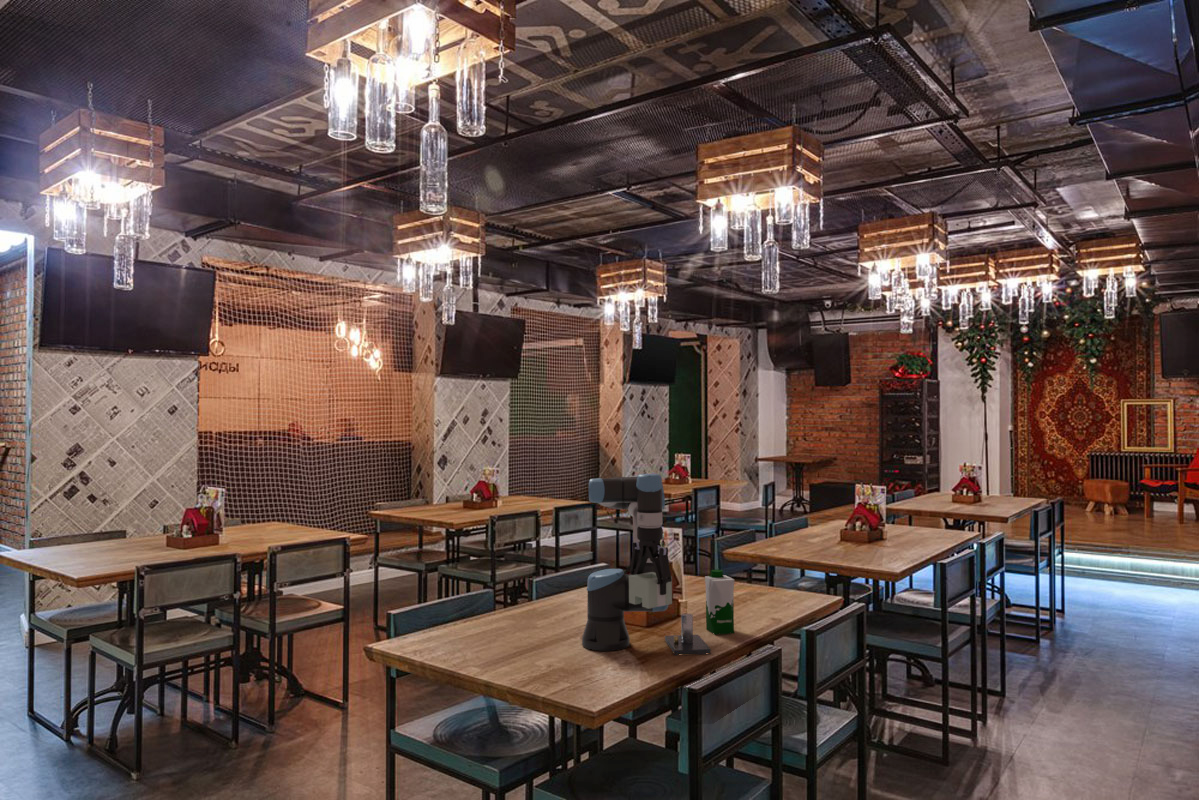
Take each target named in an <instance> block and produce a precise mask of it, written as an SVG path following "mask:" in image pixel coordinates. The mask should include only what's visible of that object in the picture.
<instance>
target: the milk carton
mask: <svg viewBox="0 0 1199 800" xmlns="http://www.w3.org/2000/svg"><path fill="white" fill-rule="evenodd" d="M735 581H736V580H735V579H734V578H732V577H730V576H727V575H726V574H724V571H723V569H711V570H710V575H707V576H706V575H705V576H704V584H705V623H706V628H705V629H706V630H707V631H708V630H709V631H708V632H710V633H711V632H712V634H713V633H714V634H715V635H714V634H713V635H714V636H717V635H716V634H719V635H728V634H735V626H734V625H735V624H734V621H735V618H734V615H735V614H734V611H735V610H734V609H735V607H734V605H735V604H734V588H735Z"/></svg>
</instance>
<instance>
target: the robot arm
mask: <svg viewBox="0 0 1199 800" xmlns="http://www.w3.org/2000/svg"><path fill="white" fill-rule="evenodd" d="M662 479H663V477H662V475H661V474H658V473H639V474H638V475H637V476H617V477H610V478H605V477H603V478H601V477H596V478H590V479H589V481H588V500H589V502H590V503H592V504H593V503H594V504H598V505H600V506H602V507H605V508H607V509H614V510H627V511H628V513H629V516H630V517H632V532H633V533H632V534H633V536H632V537H633V542H632V544H631V546H632V552H631V560H630V567H629V573H625V572H624V569H622V568H606V569H602V570H597V571H594V572H592V573H590V575H588V577H587V583H586V584H587V585H586V591H587V606H586V607H587V611H586V612H587V613H586V614H587V621H586V623H585V624H586V625H585V627H584V630H583V634H582V636H581V637H582V638H581V645H583V646H584V647H583V646H582V647H583V648H585V647H586V648H585V649H587V648H588V649H587V650H590V649H592V650H591V651H596V650H599V652H615V651H621V650H624V649H626V648H628V647H630V643H631V641H630V639H631V638H630V635H629V632H628V631H629V630H628V629H627V626H626V622H625V612H631V613H632V612H635V613H636V612H645V613H647V612H649V613H650V612H652V613H655V612H656V613H657V612H665V611H667V609H668V608H669V605H665V595H666V583H667V582H671V581H673V578H672V579H671V577H672V574H671V567H670V561H669V560H670V559H669V548H668V547H667V546H665V547H663V546H662V545H661V540H662V539H663V527H662V525H663V509H664V508H665V503H666V501H665V497H666V496H665V490H664V485H663V480H662ZM648 572H654V573H656V576H657V579H658V582H657V606H658V607H654V608H649V609H648V608H645V607H642V602H641V603H640V604H636V605H635V604H632V603H629V576H630V575H636V574H642V573H648ZM620 649H621V650H620ZM614 650H615V651H614Z"/></svg>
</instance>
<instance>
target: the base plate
mask: <svg viewBox="0 0 1199 800" xmlns="http://www.w3.org/2000/svg"><path fill="white" fill-rule="evenodd" d="M693 618H694V616H693V614H692V613H682V614H680V625H681V627H680V629H681V631H680V633H681V634H680V635H679V634H678V635H676V634H675V635H665V636H664V641H665V642H666V644H667V646H668V645H669V646H668V647H669V648H671V649H672V650H671V649H670V650H671V651H672V653H673V652H674V653H673V654H674V656H680V655H679V654H698V655H707V654H706V653H711V654H712V651H711V650H712V649H711V648H710V647H709V646H708V644H707V643H706V642H705V640H704V639H703V638H702V637H701V636H700V635H699V634H694V633H693V632H694V627H693V626H694V624H693V623H694V619H693Z"/></svg>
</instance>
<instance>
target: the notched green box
mask: <svg viewBox="0 0 1199 800" xmlns="http://www.w3.org/2000/svg"><path fill="white" fill-rule="evenodd" d="M671 579H672V581H673V577H672V576H671ZM672 581H671V582H667V583H666V595H665V605H668V606H669V605H672V604H673V582H672ZM657 582H658V579H657V576H656V573H654V572H648V573H642V574H636V575H630V576H629V603H632V604H635V605H636V604H640V603H641V602H642V607H645V608H648V609H649V608H654V607H658V606H657Z"/></svg>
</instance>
